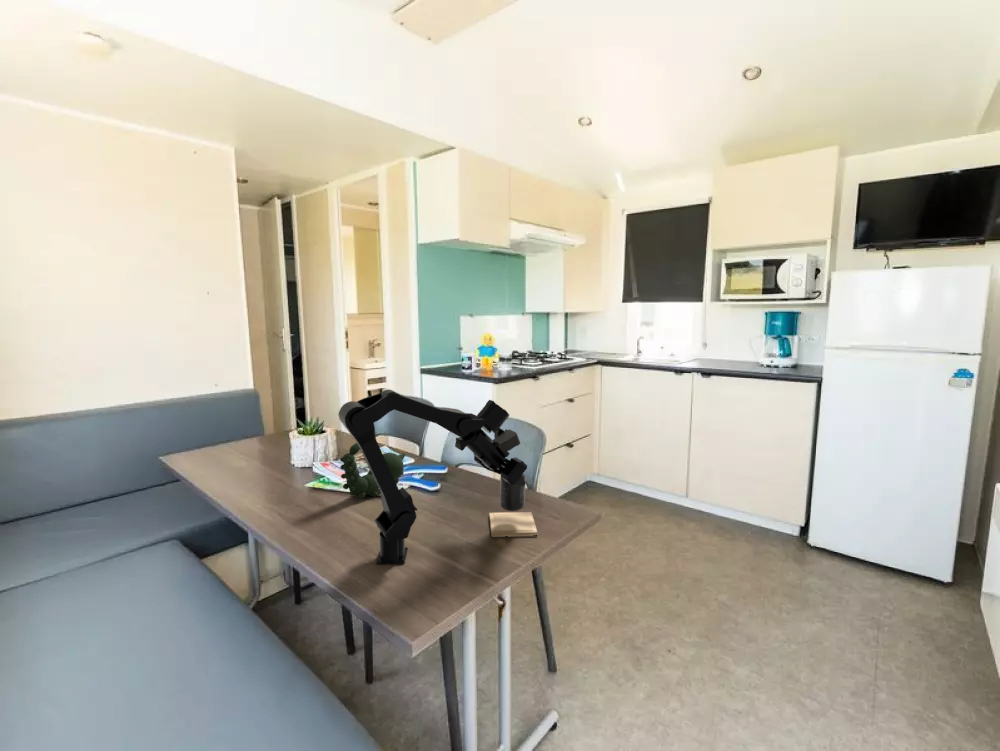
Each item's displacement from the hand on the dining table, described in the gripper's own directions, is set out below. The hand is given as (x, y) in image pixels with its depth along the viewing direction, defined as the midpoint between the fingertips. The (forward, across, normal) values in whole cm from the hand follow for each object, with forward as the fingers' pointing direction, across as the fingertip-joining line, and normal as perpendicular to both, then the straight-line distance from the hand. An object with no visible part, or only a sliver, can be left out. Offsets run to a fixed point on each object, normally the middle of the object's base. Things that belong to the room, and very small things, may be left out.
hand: (517, 480), depth 128 cm
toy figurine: (-9, +41, +28) cm, 50 cm away
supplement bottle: (+4, 0, +6) cm, 8 cm away
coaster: (+8, 0, +10) cm, 13 cm away
